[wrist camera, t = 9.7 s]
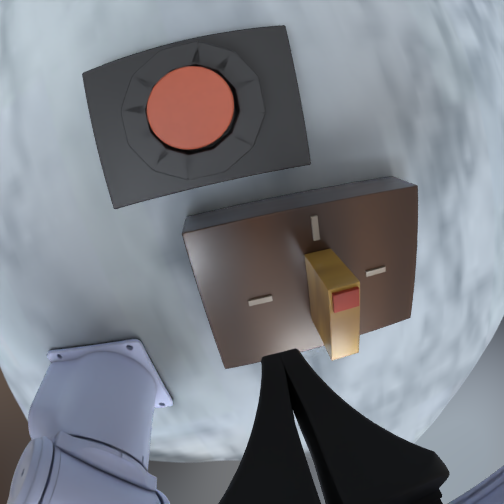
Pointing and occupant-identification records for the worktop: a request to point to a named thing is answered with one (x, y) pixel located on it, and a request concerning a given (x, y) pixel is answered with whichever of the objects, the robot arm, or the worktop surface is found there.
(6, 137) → the worktop surface
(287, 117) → the doorbell
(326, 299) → the lock knob
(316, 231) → the plate
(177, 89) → the bell button
